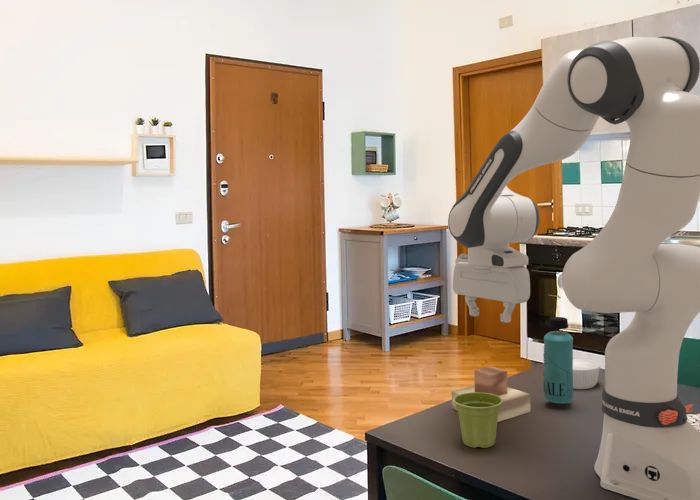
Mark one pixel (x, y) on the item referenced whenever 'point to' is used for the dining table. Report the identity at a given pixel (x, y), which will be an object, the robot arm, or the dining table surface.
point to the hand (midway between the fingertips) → (489, 318)
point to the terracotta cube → (491, 380)
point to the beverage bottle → (558, 363)
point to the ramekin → (585, 373)
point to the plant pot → (478, 417)
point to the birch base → (504, 402)
